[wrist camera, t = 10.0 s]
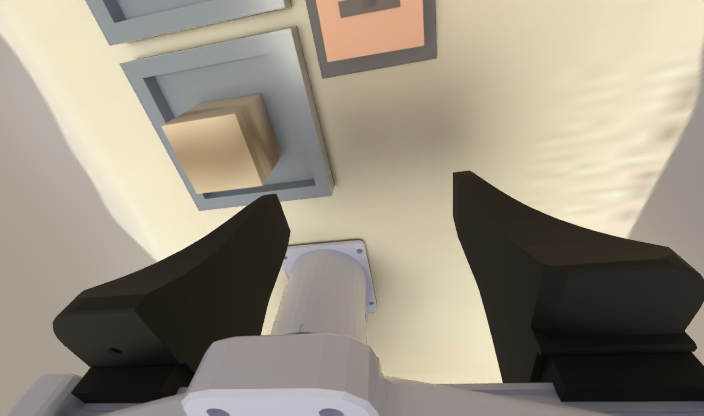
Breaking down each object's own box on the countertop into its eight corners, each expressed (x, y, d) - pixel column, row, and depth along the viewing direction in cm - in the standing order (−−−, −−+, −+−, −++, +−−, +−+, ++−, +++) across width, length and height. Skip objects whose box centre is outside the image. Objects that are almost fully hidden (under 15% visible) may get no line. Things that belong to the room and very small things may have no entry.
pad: (435, 56, 19) (436, 58, 18) (323, 76, 20) (322, 78, 19) (431, -101, 15) (432, -105, 14) (293, -66, 16) (290, -68, 16)
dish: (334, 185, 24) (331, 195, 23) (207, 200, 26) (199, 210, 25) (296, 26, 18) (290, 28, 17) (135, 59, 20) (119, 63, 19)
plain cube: (281, 155, 23) (262, 185, 19) (225, 163, 23) (196, 193, 20) (261, 92, 20) (234, 113, 17) (199, 103, 21) (160, 126, 17)
